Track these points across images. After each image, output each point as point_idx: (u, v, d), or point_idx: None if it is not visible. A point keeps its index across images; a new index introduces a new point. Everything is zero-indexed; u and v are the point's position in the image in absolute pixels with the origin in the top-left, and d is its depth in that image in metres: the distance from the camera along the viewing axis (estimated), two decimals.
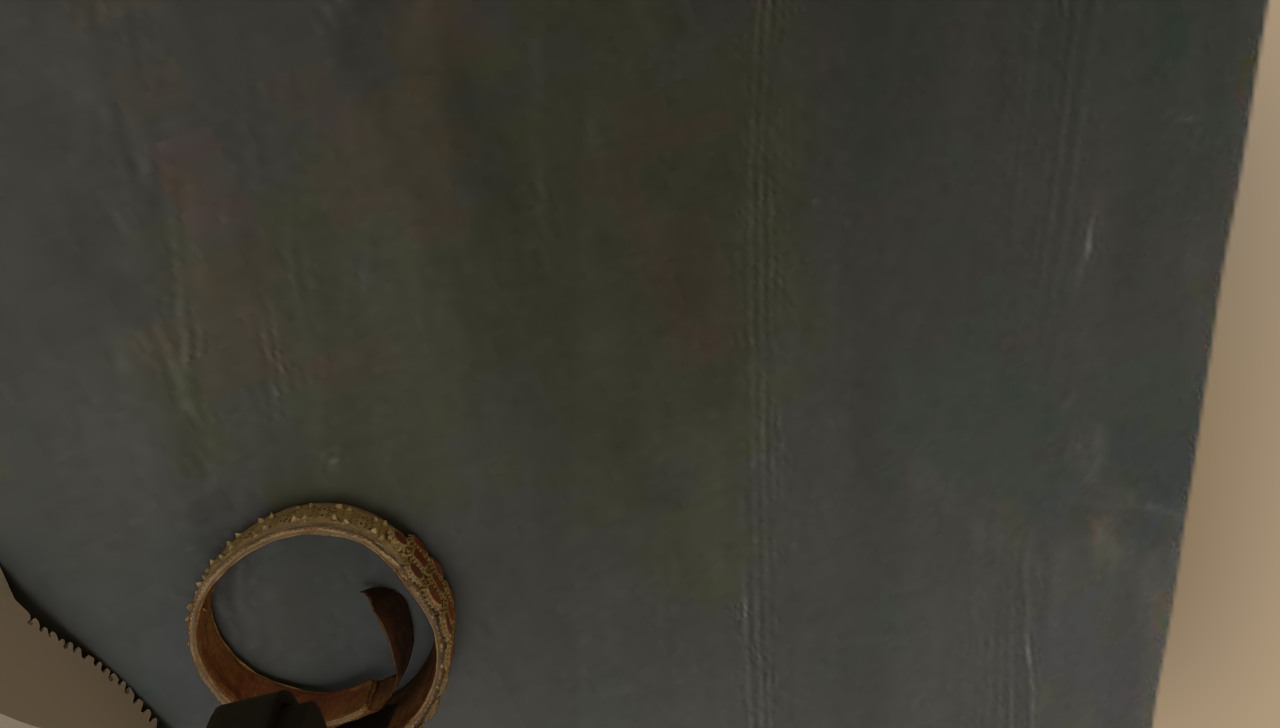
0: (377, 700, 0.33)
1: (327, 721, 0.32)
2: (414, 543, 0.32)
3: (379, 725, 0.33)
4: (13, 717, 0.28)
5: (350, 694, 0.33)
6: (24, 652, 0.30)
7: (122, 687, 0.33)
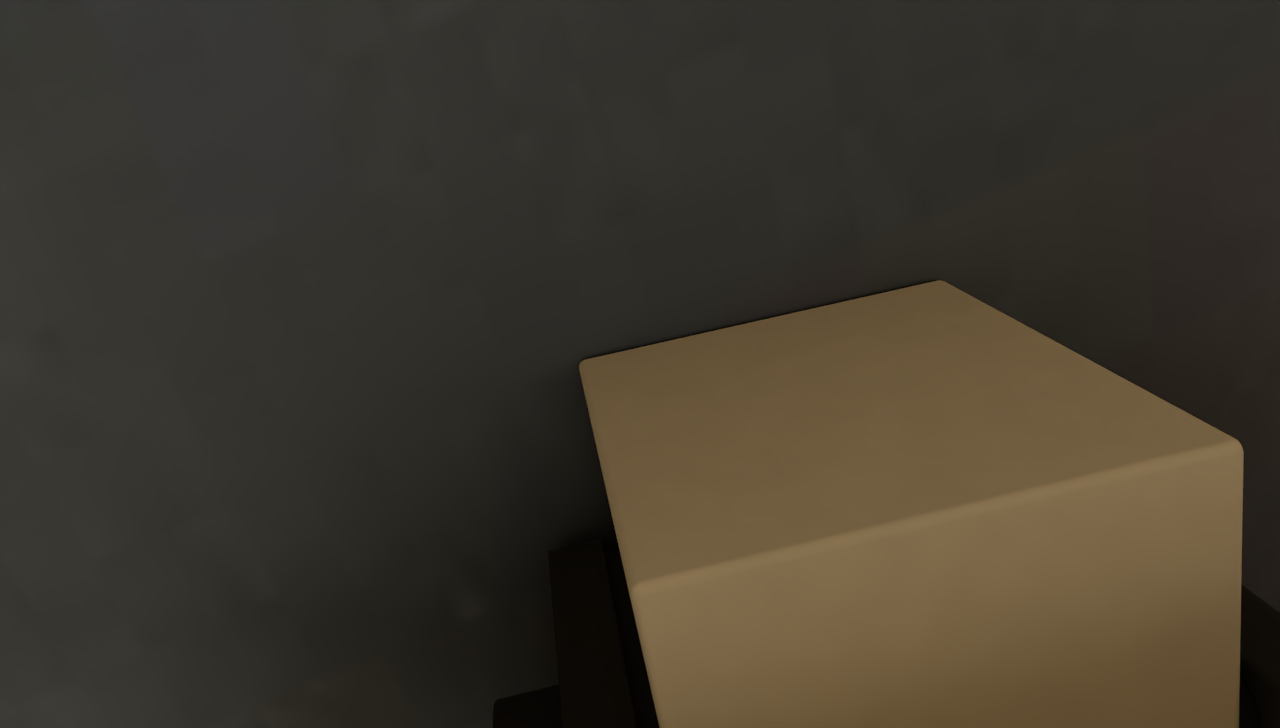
0: None
1: None
2: None
3: None
4: None
5: None
6: None
7: None
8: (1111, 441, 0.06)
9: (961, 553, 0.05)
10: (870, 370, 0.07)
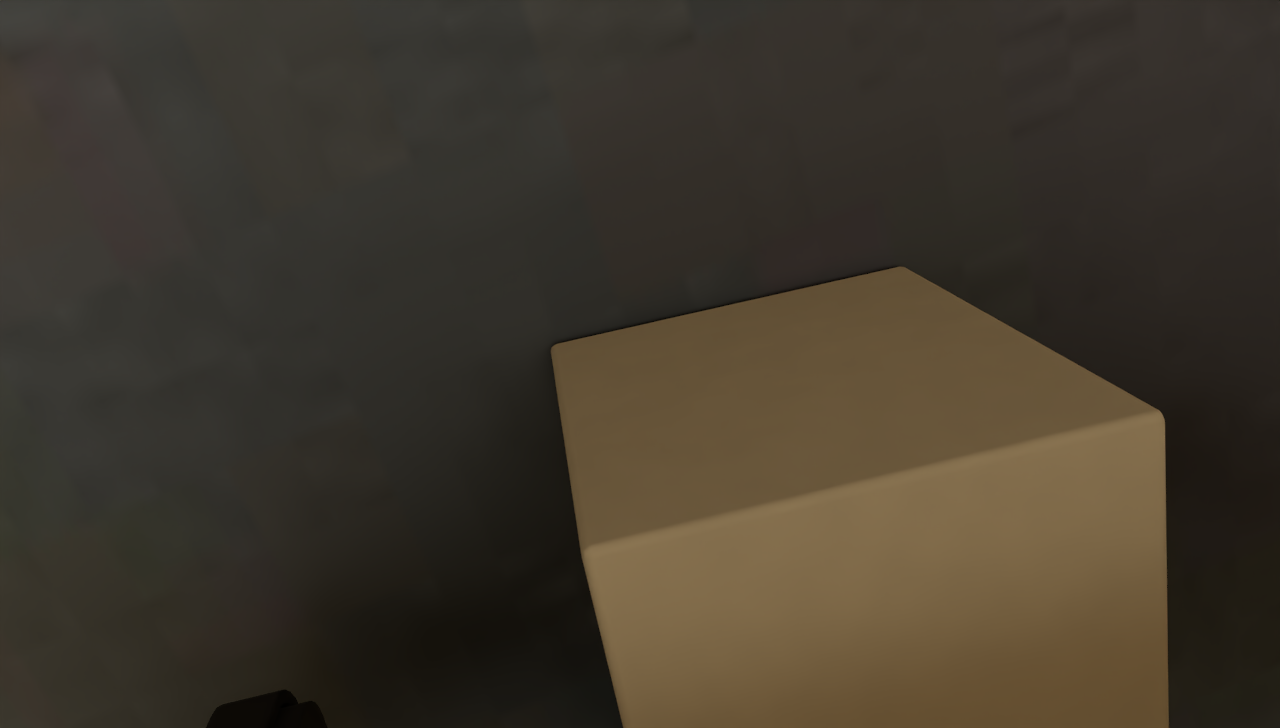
0: None
1: None
2: None
3: None
4: None
5: None
6: None
7: None
8: (1042, 413, 0.06)
9: (896, 519, 0.06)
10: (825, 351, 0.08)
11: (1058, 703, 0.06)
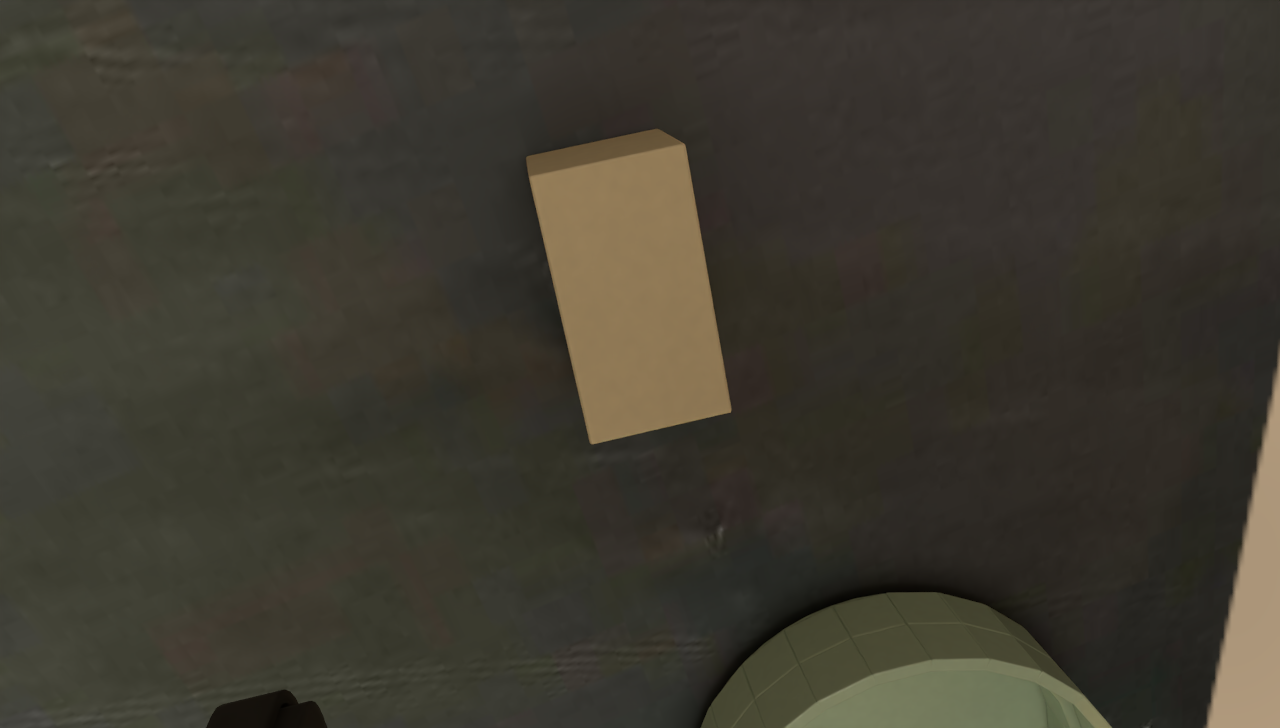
0: None
1: None
2: None
3: None
4: None
5: None
6: None
7: None
8: (657, 147, 0.22)
9: (612, 171, 0.21)
10: (614, 145, 0.23)
11: (666, 233, 0.22)
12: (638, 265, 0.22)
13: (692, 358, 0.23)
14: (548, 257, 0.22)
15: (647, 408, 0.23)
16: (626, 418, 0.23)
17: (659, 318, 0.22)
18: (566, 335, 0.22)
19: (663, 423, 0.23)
